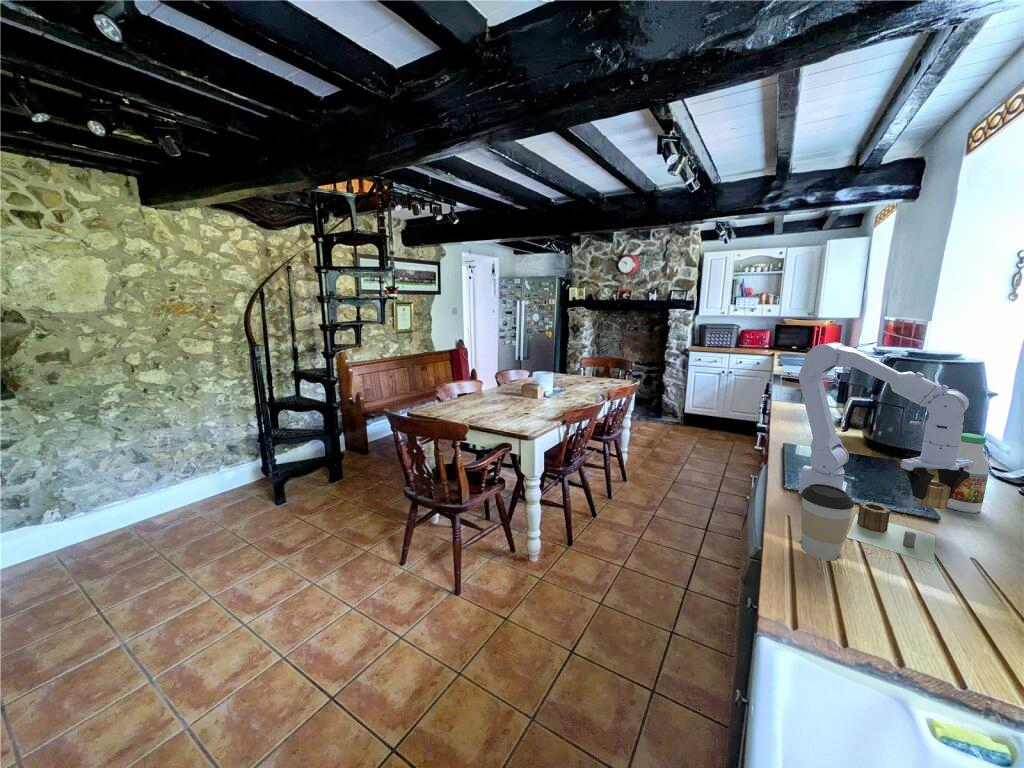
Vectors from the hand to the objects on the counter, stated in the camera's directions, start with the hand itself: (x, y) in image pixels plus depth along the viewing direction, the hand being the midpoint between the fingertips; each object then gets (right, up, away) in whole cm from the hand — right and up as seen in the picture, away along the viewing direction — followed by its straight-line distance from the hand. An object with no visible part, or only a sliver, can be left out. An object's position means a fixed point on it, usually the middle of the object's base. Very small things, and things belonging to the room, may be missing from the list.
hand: (930, 497), depth 95 cm
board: (-12, -10, -2) cm, 15 cm away
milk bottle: (+21, -6, +13) cm, 25 cm away
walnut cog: (-12, -8, +2) cm, 14 cm away
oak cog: (0, -2, 0) cm, 2 cm away
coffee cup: (-30, -11, -5) cm, 33 cm away
